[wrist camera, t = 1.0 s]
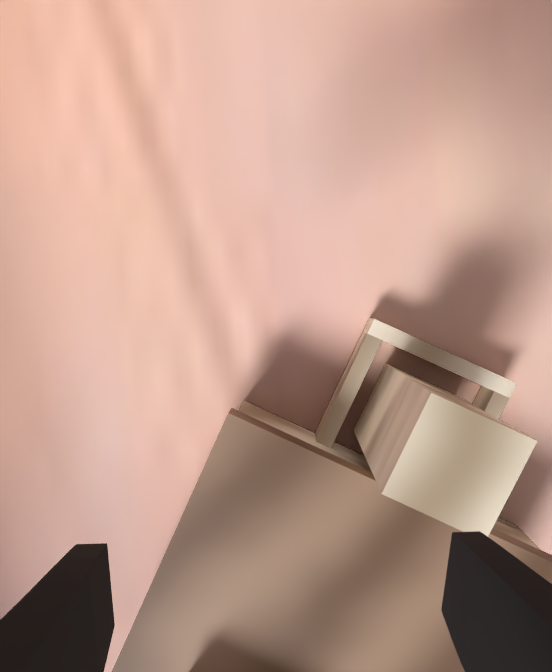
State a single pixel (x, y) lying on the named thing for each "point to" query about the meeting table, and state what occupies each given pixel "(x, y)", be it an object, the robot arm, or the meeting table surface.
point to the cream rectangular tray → (487, 399)
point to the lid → (298, 569)
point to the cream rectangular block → (440, 451)
